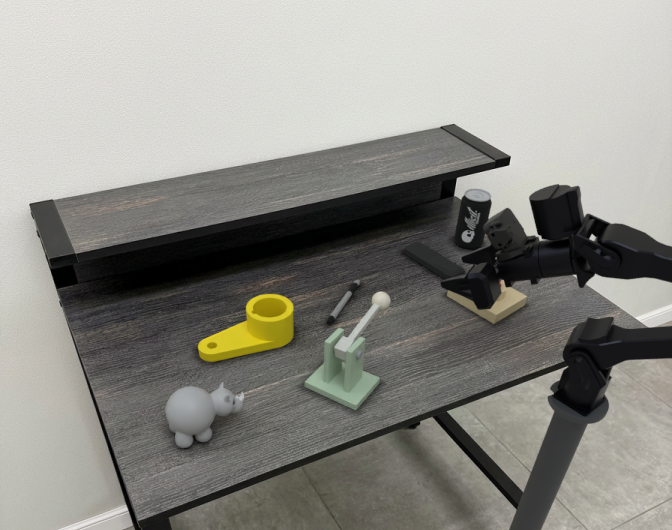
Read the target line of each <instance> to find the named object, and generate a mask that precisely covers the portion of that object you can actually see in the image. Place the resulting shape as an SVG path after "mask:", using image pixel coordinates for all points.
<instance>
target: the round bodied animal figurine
mask: <svg viewBox="0 0 672 530" xmlns="http://www.w3.org/2000/svg"><path fill="white" fill-rule="evenodd" d="M224 385H225V383H224V381H222V382H221V383H220V384H219V386H218V388H216V389H215V390H213V391H212V392H211V393H209V392H207V391H206V390H205V389H203V388H201V387H198V386H193V385H190V386H189V385H188V386H183V387H181V388H179V389H177V390H176V391H174V392H173V393H172V394H171V395H170V397H169V398H168V400H167V403H166V405H165V407H164V412H165V416H166V420H167V422H168V428H169V430H170V431H171V432H172V433H174V434H175V436H174V440H175V445H176V446H177V447H178V448H181V449H187V448H189V447H191V446H192V444H193V442H194V438H195V440H196V441H197V442H200V443H207V442H209V441H210V440H211V439H212V437H213V430H212V428H211V425H212V424H213V422H214V419H215V417H216V416H219V417H226V416H228V415H230V414H238V413H239V412H241V411H242V409H243V407H244V400H245V394H244V392H243V391H241V392H240V395H236V394H233V393H232V391H231V390H229V389H228V388H225V387H224ZM193 436H194V437H193Z"/></svg>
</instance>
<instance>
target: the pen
mask: <svg viewBox="0 0 672 530" xmlns="http://www.w3.org/2000/svg"><path fill="white" fill-rule="evenodd" d="M360 285H361V280H360V278H359V279H355V280H354V281H353V283H352V284H351V286H350V287H349V288H348V290H346V293H345V294H344V296H343V297H342V298H341V299H340V301H339V302H338V303H337V305H336V306H335V308H334V309H333V310H332V312H331V313H330V314H329V316H328V318H327V319H326V321H325V322H326V323H325V324H327V325H329V326H330V325H331V324H333V322H335V320H336V318H337V317H338V315H339V314H340V313H341V311H342V310H343V308H344V307H345V305H346V304H347V303H348V301H349V300H350V298H351V297H352V296H353V295H354V293H355V291H357V288H358V287H359V286H360Z"/></svg>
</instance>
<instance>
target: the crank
mask: <svg viewBox="0 0 672 530" xmlns="http://www.w3.org/2000/svg"><path fill="white" fill-rule="evenodd" d="M245 313H246V314H245V315H246V320H245V321H243V322H240V323H237V324H234V325H233V326H231V327H228V328H226V329H223V330H222V331H219V332H217V333H215V334H212V335H210V336H208V337H206V338H203V339H202V340H200V341H199V343H198V345H197V349H198V356H199V358H200V359H201V360H203V361H205V362H209V363H210V362H211V363H213V362H218V361H223V360H228V359H232V358H236V357H241V356H246V355H250V354H255V353H260V352H264V351H269V350H273V349H279V348H281V347H284V346H286V345H287V344H289V343H290V342H291V341H292V340H293V338H294V335H295V334H294V333H295V332H294V330H295V329H294V325H295V324H294V304H293V302H292V301H291V300H290V299H289V298H287V297H286V296H283V295H281V294H277V293H264V294H259V295H257V296H254V297H253V298H251V299H250V300H248V301H247V303H246V306H245Z"/></svg>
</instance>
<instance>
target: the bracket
mask: <svg viewBox="0 0 672 530" xmlns="http://www.w3.org/2000/svg"><path fill="white" fill-rule="evenodd" d="M342 336H345V329H344V328H341V327H338V328H337V329H336V330H335V331H334V332H332V333H331V334H330V335H329V337H328V338H327V339H325V340H324V345H323V346H324V347H323V348H324V349H323V363H322V364H321V365H320V366H319V367H318V368H317V369H315V371H314V372H313V373H312V374H311V375H310V376H309V377H308V378H307V379H306V380H304V388H306V389H308V390H310V391H313V392H315V393H317V394H319V395H321V396H323V397H325V398H328V399H329V400H332V401H334V402H336V403H339V404H341V405H343V406H345V407H347V408H349V409H352V410H354V411H357V410H358V409H359V408H360V406H362V404H363V403H364V402H365V400H366V399H368V398H369V396H370V395H371V394H372V393H373V392H374V390H375V389H376V388H377V387H378V386H379V384H380V382H381V377H379V376H376V375H374V374H372V373H370V372H367V371H365V370H363V369H364V359H365V348H366V337H363V336H361V335H360V336H359V337H358V339H357V340H356V341H355V342H354V343H353V344H352V345H351V346H350V347H349V348H348V349H347V350H346V361H343V360H342V359H339V358H337V357H335V352H334V346H335V345H336V344H337V343H338V341H339V340H340V339H341V337H342Z"/></svg>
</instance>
